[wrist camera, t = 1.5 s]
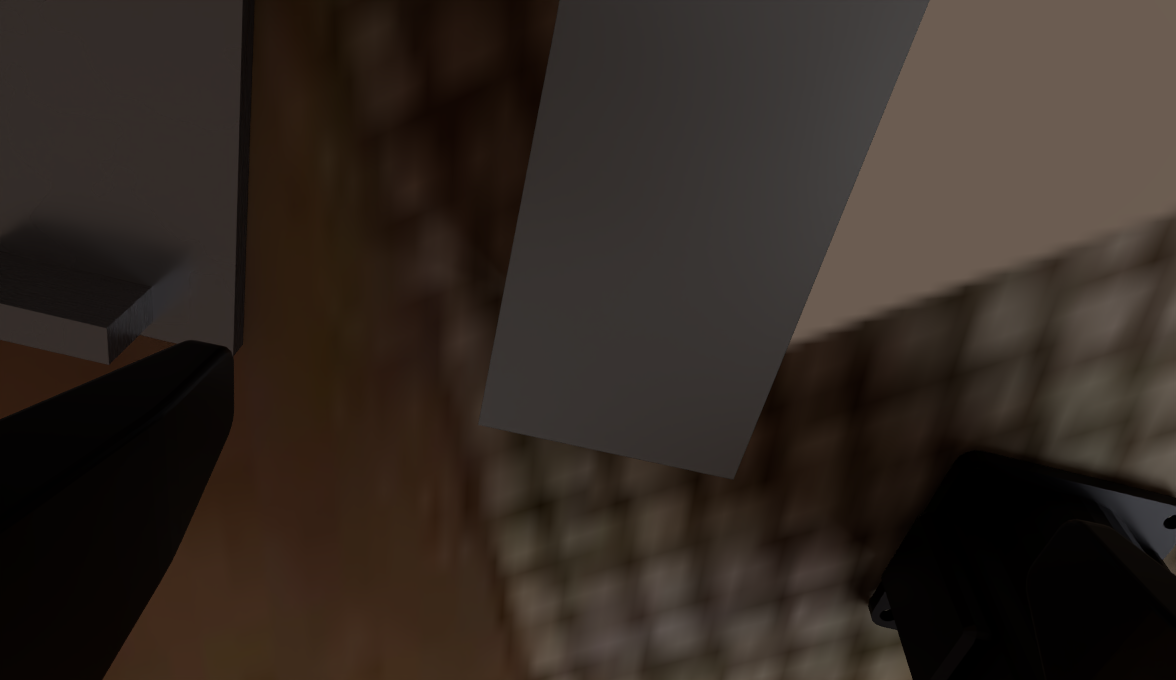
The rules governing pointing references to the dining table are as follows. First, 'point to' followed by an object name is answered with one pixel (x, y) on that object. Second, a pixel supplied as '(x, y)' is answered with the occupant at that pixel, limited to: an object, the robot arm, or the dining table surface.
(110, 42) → the side mount
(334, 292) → the dining table surface
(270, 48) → the dining table surface
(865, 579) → the dining table surface
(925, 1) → the tan and grey block
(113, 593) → the robot arm
